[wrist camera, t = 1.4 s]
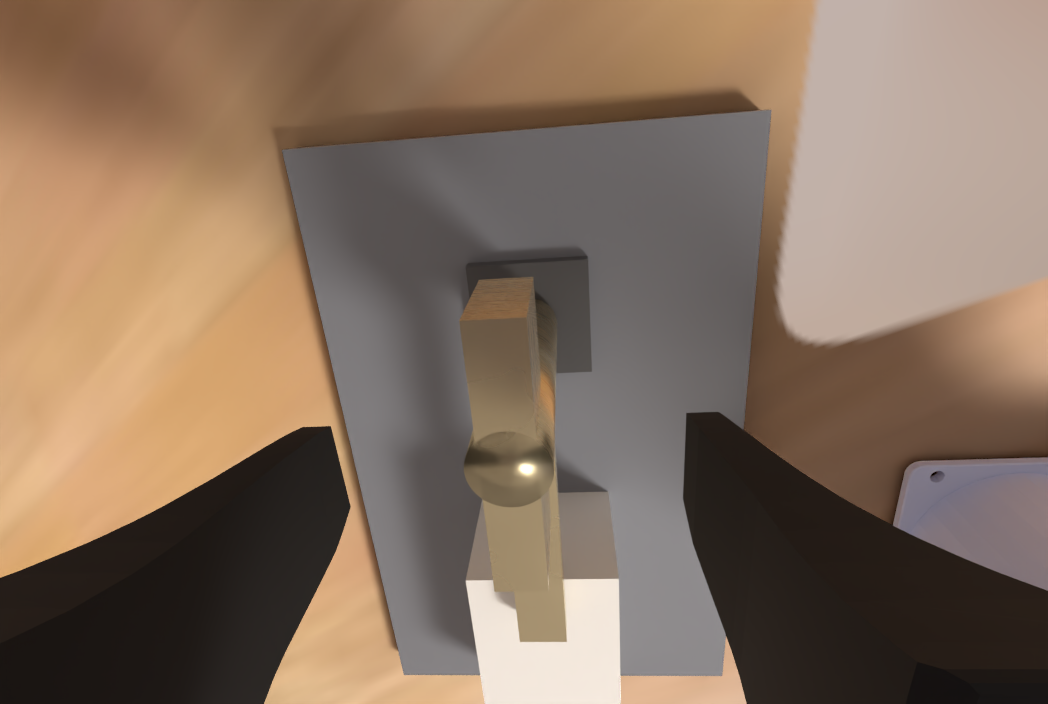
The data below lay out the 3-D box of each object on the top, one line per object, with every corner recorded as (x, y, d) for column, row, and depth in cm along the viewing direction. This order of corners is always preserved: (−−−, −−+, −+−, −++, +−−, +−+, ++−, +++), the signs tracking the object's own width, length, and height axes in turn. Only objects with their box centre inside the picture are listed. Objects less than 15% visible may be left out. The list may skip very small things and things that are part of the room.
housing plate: (760, 109, 17) (777, 110, 16) (716, 656, 27) (725, 686, 25) (295, 147, 19) (274, 151, 17) (408, 656, 28) (401, 684, 27)
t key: (551, 225, 17) (543, 316, 10) (569, 536, 22) (573, 759, 15) (494, 229, 18) (442, 321, 10) (524, 537, 22) (504, 757, 15)
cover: (608, 491, 22) (618, 578, 18) (612, 668, 26) (621, 772, 22) (483, 494, 23) (465, 580, 19) (505, 667, 27) (495, 770, 22)
